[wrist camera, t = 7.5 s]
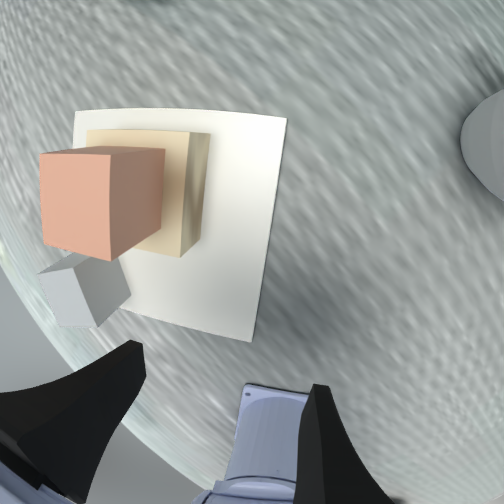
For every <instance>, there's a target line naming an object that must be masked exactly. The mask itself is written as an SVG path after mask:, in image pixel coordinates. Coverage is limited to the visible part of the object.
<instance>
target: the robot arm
mask: <svg viewBox="0 0 504 504" xmlns="http://www.w3.org/2000/svg"><path fill="white" fill-rule="evenodd" d="M145 378H146V369H145V361H144V353H143V344H142V343H139V342H136V341H133V340H129V341H127V342H125V343H124V344H122V345H121V346H119V347H117V348H116V349H114V350H113V351H111V352H109V353H108V354H106V355H104V356H103V357H101V358H99V359H98V360H96V361H94V362H93V363H91V364H89V365H87V366H85V367H83V368H82V369H80V370H78V371H76V372H74V373H72V374H70V375H67V376H65V377H63V378H60V379H58V380H55V381H53V382H50V383H46V384H43V385H40V386H36V387H33V388H29V389H24V390H19V391H13V392H4V393H0V504H74V503H72V502H70V501H69V500H67V499H65V498H64V497H66V498H68V499H70V500H71V501H73V502H75V503H77V504H84V503H86V499H87V496H88V493H89V489H90V486H91V483H92V480H93V477H94V475H95V472H96V469H97V467H98V464H99V462H100V460H101V457H102V455H103V453H104V451H105V448H106V446H107V444H108V442H109V440H110V438H111V436H112V434H113V433H114V431H115V429H116V427H117V426H118V425H119V423H120V422H121V420H122V418H123V417H124V415H125V414H126V412H127V411H128V409H129V408H130V406H131V405H132V403H133V402H134V400H135V398H136V397H137V395H138V393H139V391H140V389H141V387H142V385H143V383H144V381H145ZM234 440H235V444H234V447H233V451H232V454H231V458H230V461H229V464H228V468H227V471H226V475H225V478H224V481H218V480H217V481H216V482H215V485H214V488H213V490H205V491H203V492H202V493H201V494H199V495H198V496H197V497H195V499H194V500H193V501H192V502H191V504H395V503H394V502H393V501H392V500H391V499H390V498H389V497H388V496H387V495H386V494H385V493H384V491H383V490H382V489H381V488H380V486H379V485H378V484H377V483H376V481H375V480H374V479H373V478H372V476H371V475H370V473H369V472H368V470H367V469H366V467H365V466H364V464H363V463H362V461H361V460H360V458H359V456H358V454H357V453H356V451H355V449H354V447H353V445H352V443H351V441H350V439H349V437H348V435H347V433H346V431H345V428H344V426H343V424H342V421H341V419H340V416H339V414H338V411H337V408H336V406H335V403H334V400H333V397H332V394H331V390H330V388H329V386H326V385H319V384H313V386H312V389H311V391H310V394H309V395H304V394H298V393H292V392H286V391H280V390H275V389H270V388H265V387H260V386H255V385H250V384H247V385H245V386H244V388H243V393H242V399H241V404H240V410H239V415H238V421H237V426H236V432H235V437H234ZM59 494H60V495H62V496H64V497H62V496H60V495H59Z"/></svg>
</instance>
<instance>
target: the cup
mask: <svg viewBox="0 0 504 504" xmlns="http://www.w3.org/2000/svg"><path fill="white" fill-rule="evenodd" d="M460 143H461V150H462V154H463V157H464V160H465V162H466V164H467V166H468V167H469V169H470V170H471V171H472V173H473V174H474V175H475V176H476V177H477V178H478V179H479V180H480V181H481V183H482V184H483V185H484V186H485V187H486V188H487V189H488V190H489V191H490V192H491V193H493V194H494V195H495V196H497V197H498V198H499V199H501V200H502V201H503V202H504V89H502V90H500V91H499V92H497V93H495V94H493V95H492V96H490V97H488V98H486V99H485V100H483V101H482V102H481V103H480V104H479V105H478V106H477V107H476V108H475V109H474V110H473V112H472V113H471V114H470V115H469V116H468V117H467V118H466V120H465V121H464V124H463V126H462V130H461V136H460Z"/></svg>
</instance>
